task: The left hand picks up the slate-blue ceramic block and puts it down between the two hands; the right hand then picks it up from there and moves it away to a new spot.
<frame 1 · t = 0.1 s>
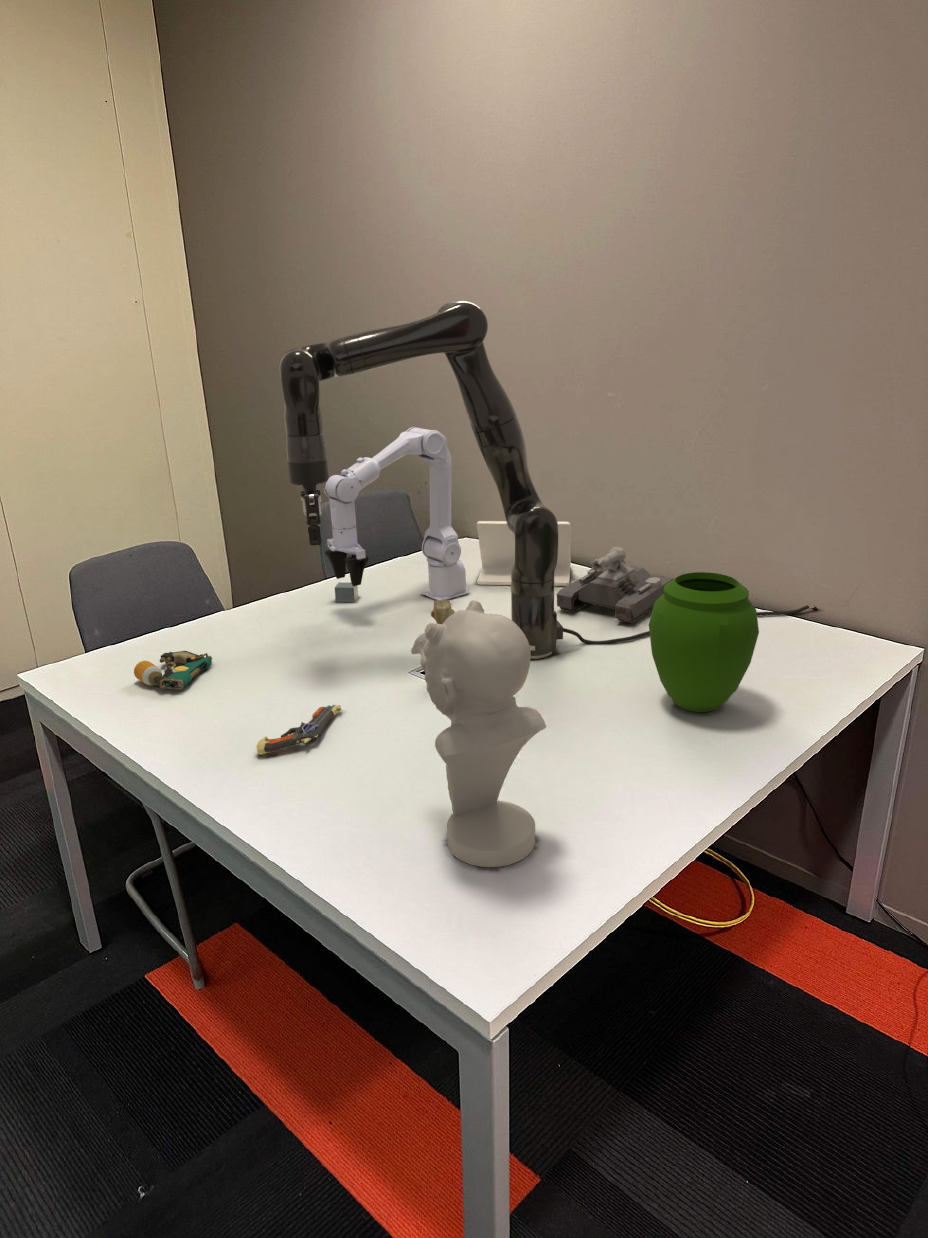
left hand: (348, 581, 206), 10 cm above the table, tool pointing down, fingers open, 7 cm apart
right hand: (314, 539, 170), 29 cm above the table, tool pointing down, fingers open, 8 cm apart
block: (347, 599, 224), on the table
toy gun: (300, 734, 155), on the table
tablet stand: (525, 575, 239), on the table
vase: (697, 704, 162), on the table
sculpture: (445, 671, 180), on the table
toy: (615, 605, 214), on the table
bust sculpture: (470, 832, 125), on the table
spray gun: (177, 676, 181), on the table
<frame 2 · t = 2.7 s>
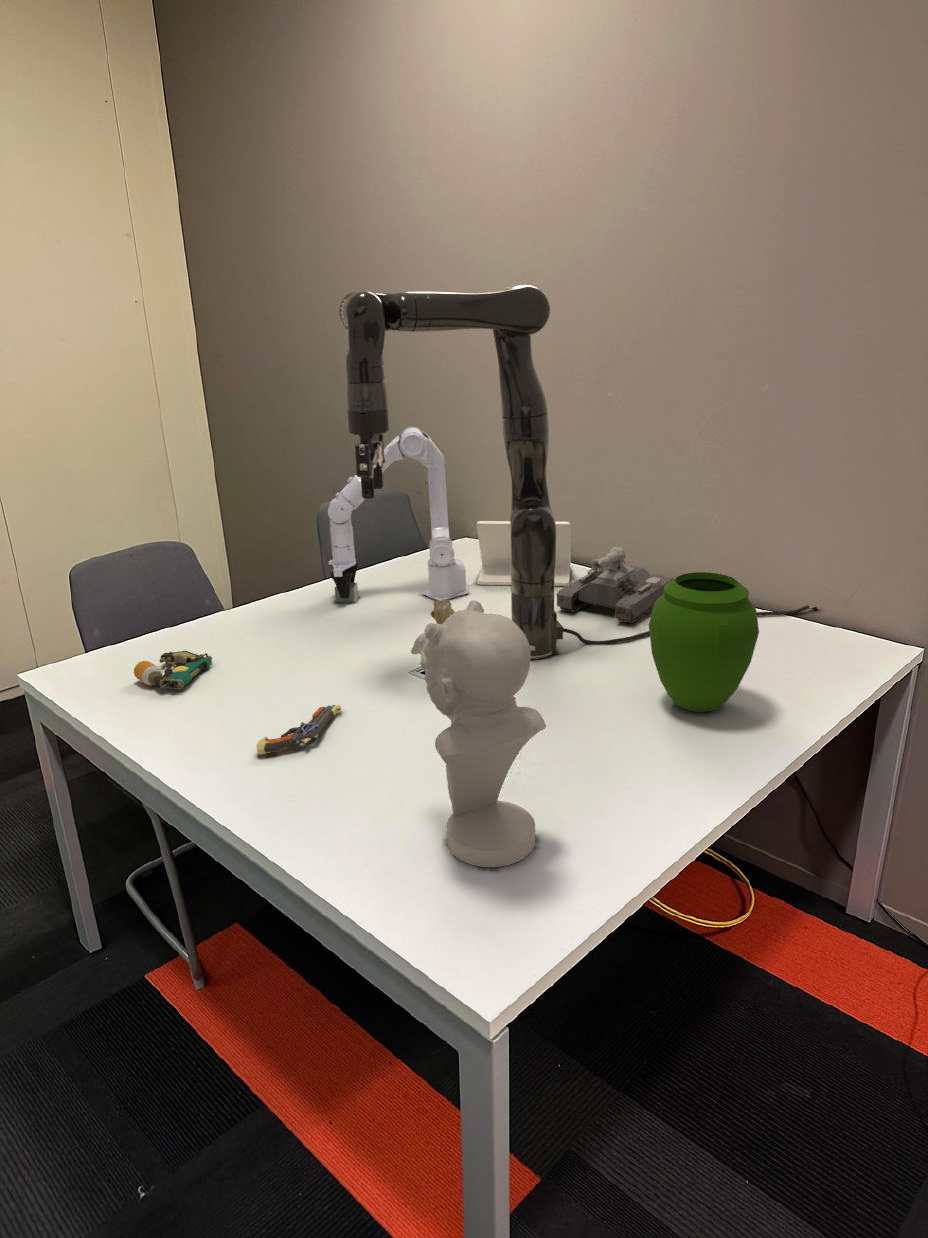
left hand: (346, 594, 223), 1 cm above the table, tool pointing down, fingers closed on block, 4 cm apart
right hand: (373, 493, 164), 39 cm above the table, tool pointing down, fingers open, 8 cm apart
block: (347, 599, 224), on the table, touching left hand
everything else where it was.
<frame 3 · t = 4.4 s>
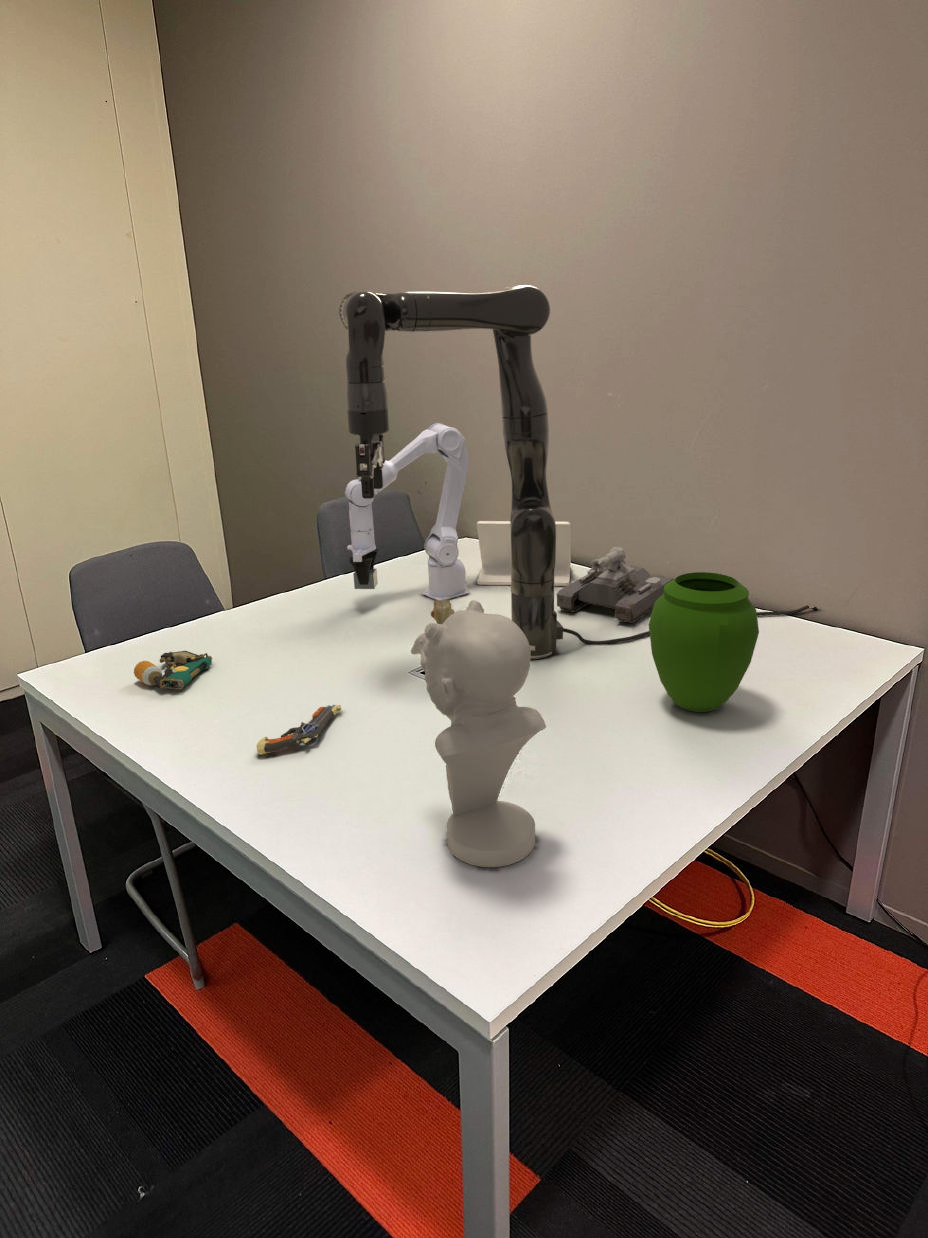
left hand: (366, 581, 216), 7 cm above the table, tool pointing down, fingers closed on block, 4 cm apart
right hand: (373, 493, 164), 39 cm above the table, tool pointing down, fingers open, 8 cm apart
block: (366, 586, 216), point 6 cm above the table, touching left hand
everything else where it was.
when the left hand's fingers open (3 cm above the table, at t = 6.0 s): block drops 1 cm, on the table.
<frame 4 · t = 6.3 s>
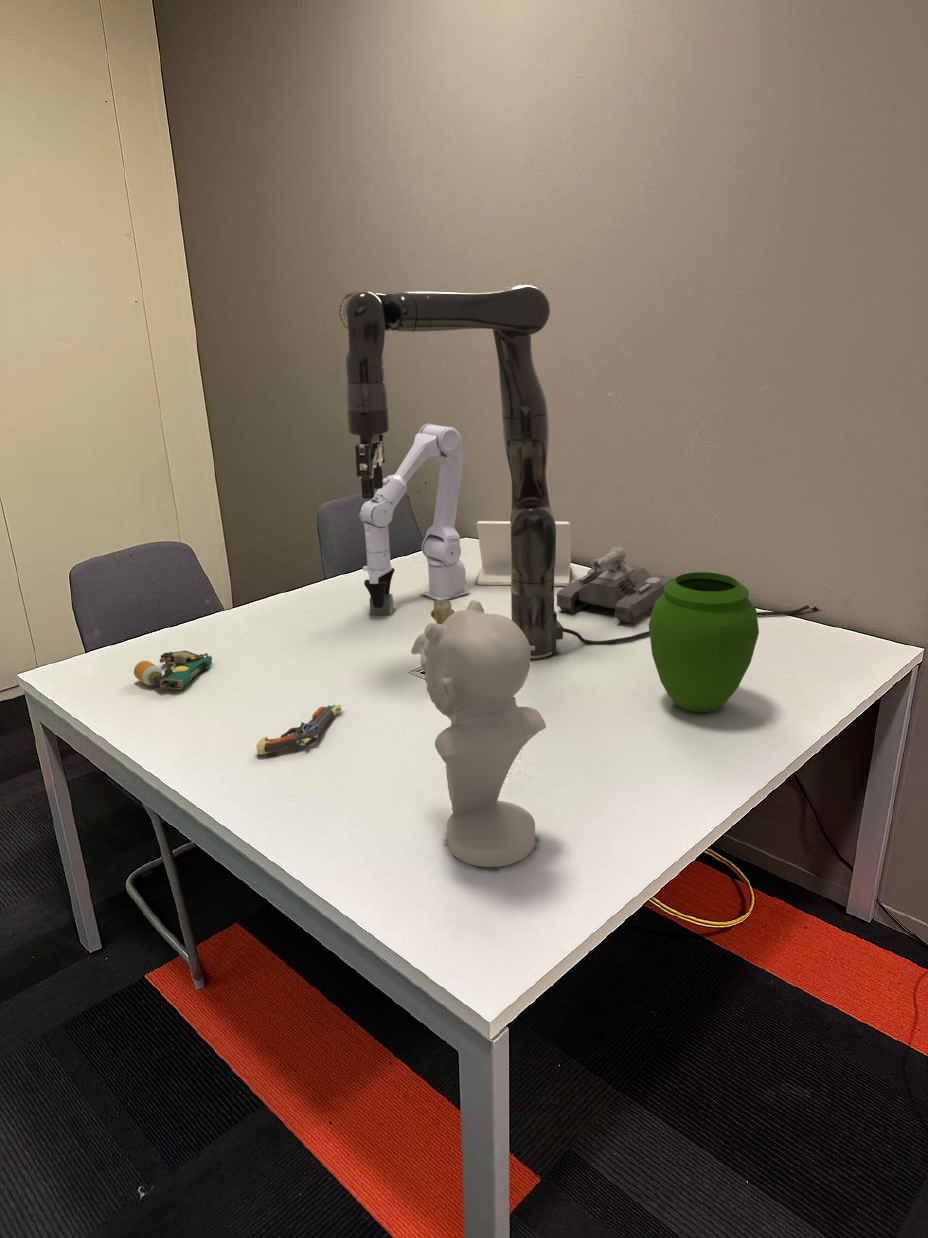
left hand: (381, 602, 214), 3 cm above the table, tool pointing down, fingers open, 7 cm apart
right hand: (373, 493, 164), 39 cm above the table, tool pointing down, fingers open, 8 cm apart
block: (382, 611, 215), on the table
everything else where it was.
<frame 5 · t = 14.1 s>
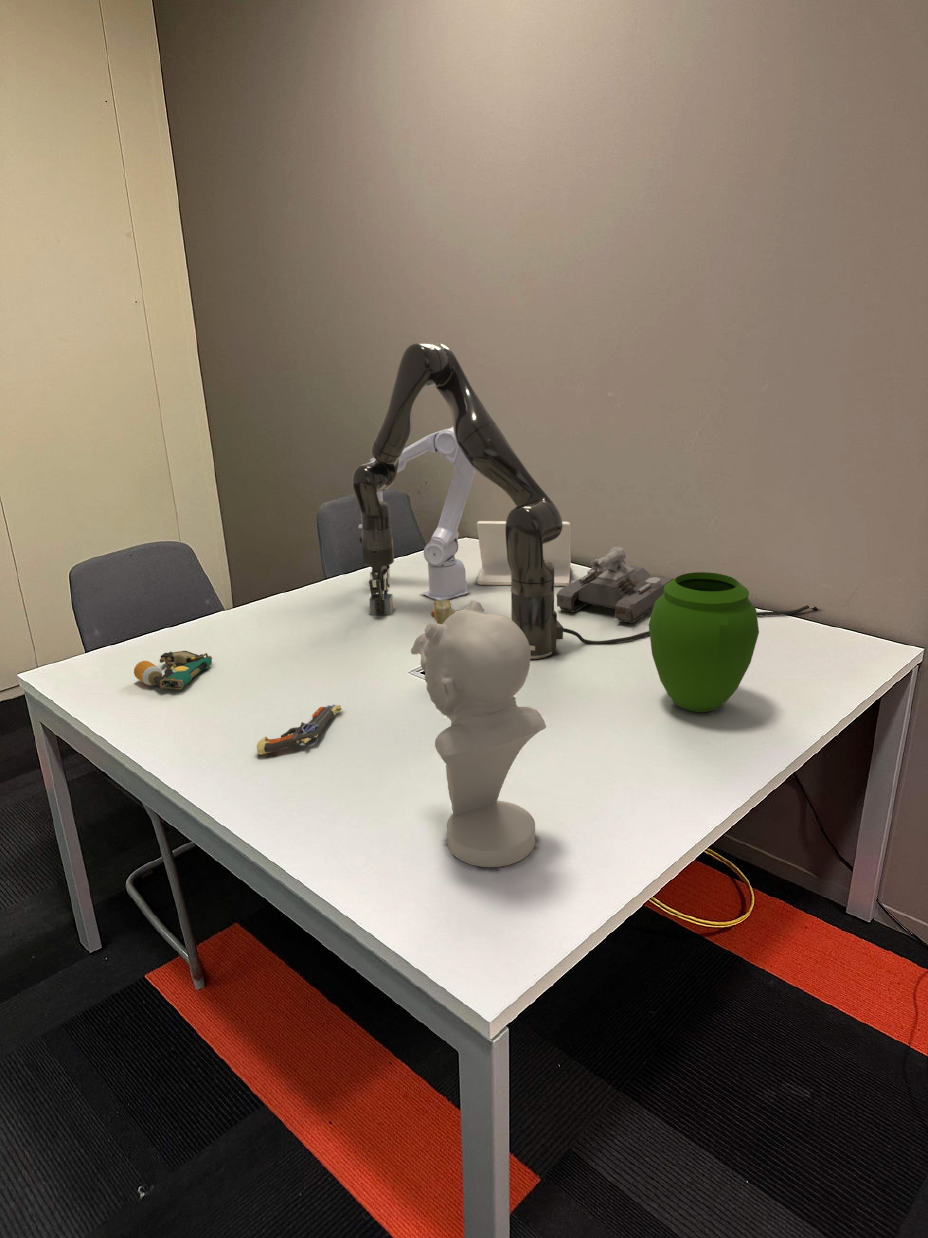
left hand: (375, 558, 229), 9 cm above the table, tool pointing down, fingers open, 7 cm apart
right hand: (381, 610, 214), 0 cm above the table, tool pointing down, fingers closed on block, 4 cm apart
block: (382, 611, 215), on the table, touching right hand
everything else where it was.
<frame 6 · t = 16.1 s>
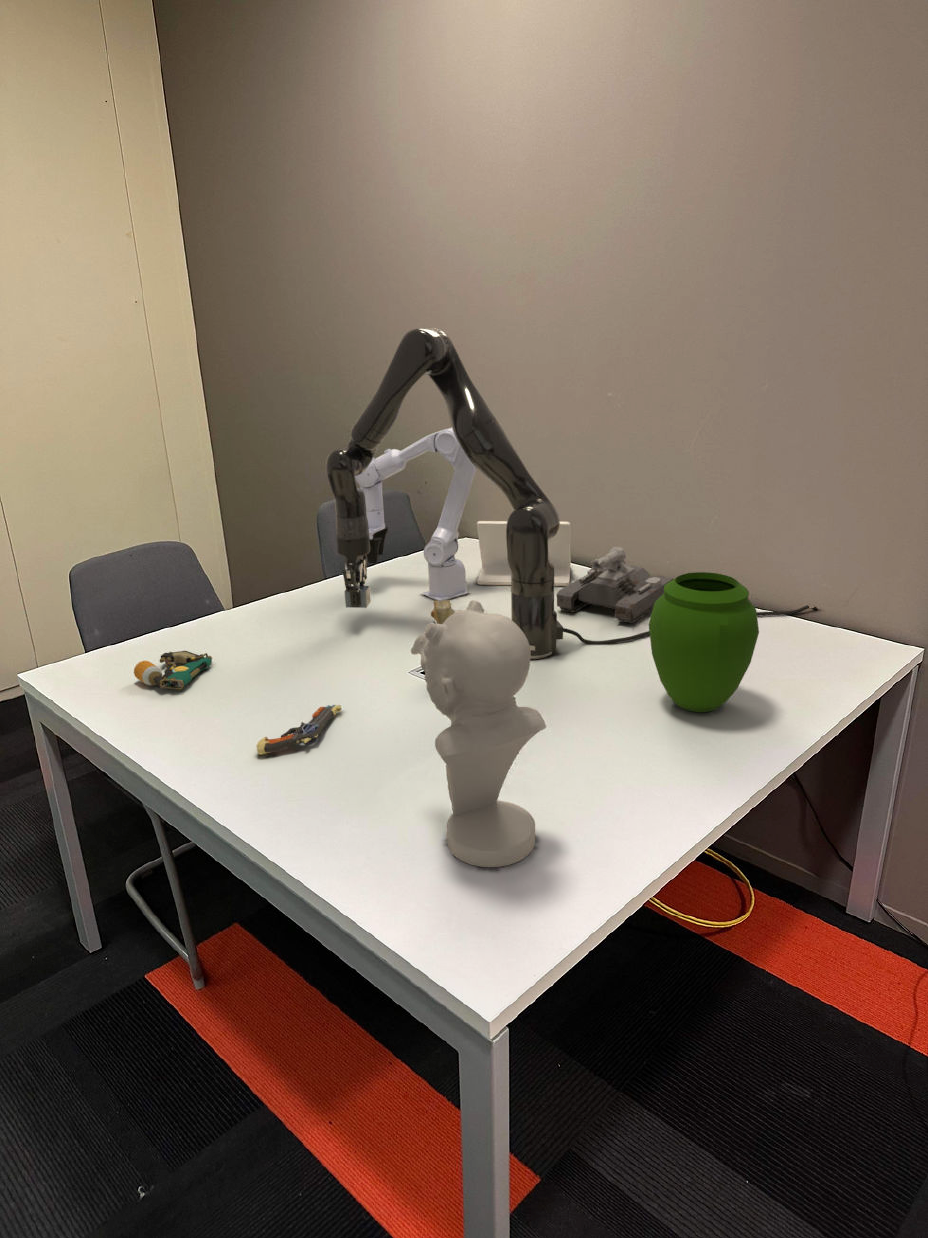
left hand: (375, 558, 229), 9 cm above the table, tool pointing down, fingers open, 7 cm apart
right hand: (358, 602, 204), 6 cm above the table, tool pointing down, fingers closed on block, 4 cm apart
block: (358, 604, 204), point 5 cm above the table, touching right hand
everything else where it was.
when the right hand's fingers open (2 cm above the table, at t = 18.4 s): block drops 1 cm, on the table.
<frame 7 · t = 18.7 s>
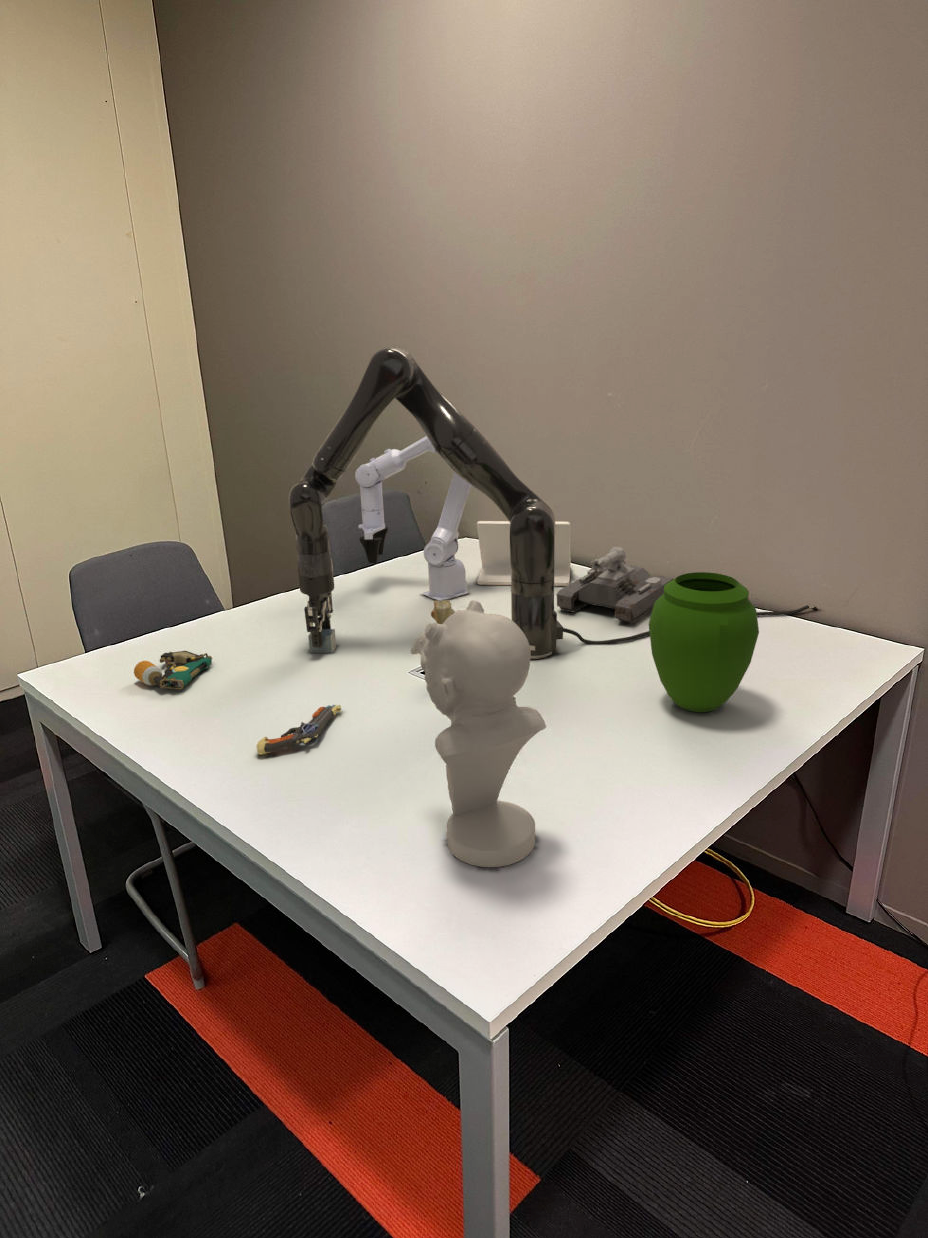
left hand: (375, 558, 229), 9 cm above the table, tool pointing down, fingers open, 7 cm apart
right hand: (322, 640, 192), 2 cm above the table, tool pointing down, fingers open, 6 cm apart
block: (323, 649, 193), on the table
everything else where it was.
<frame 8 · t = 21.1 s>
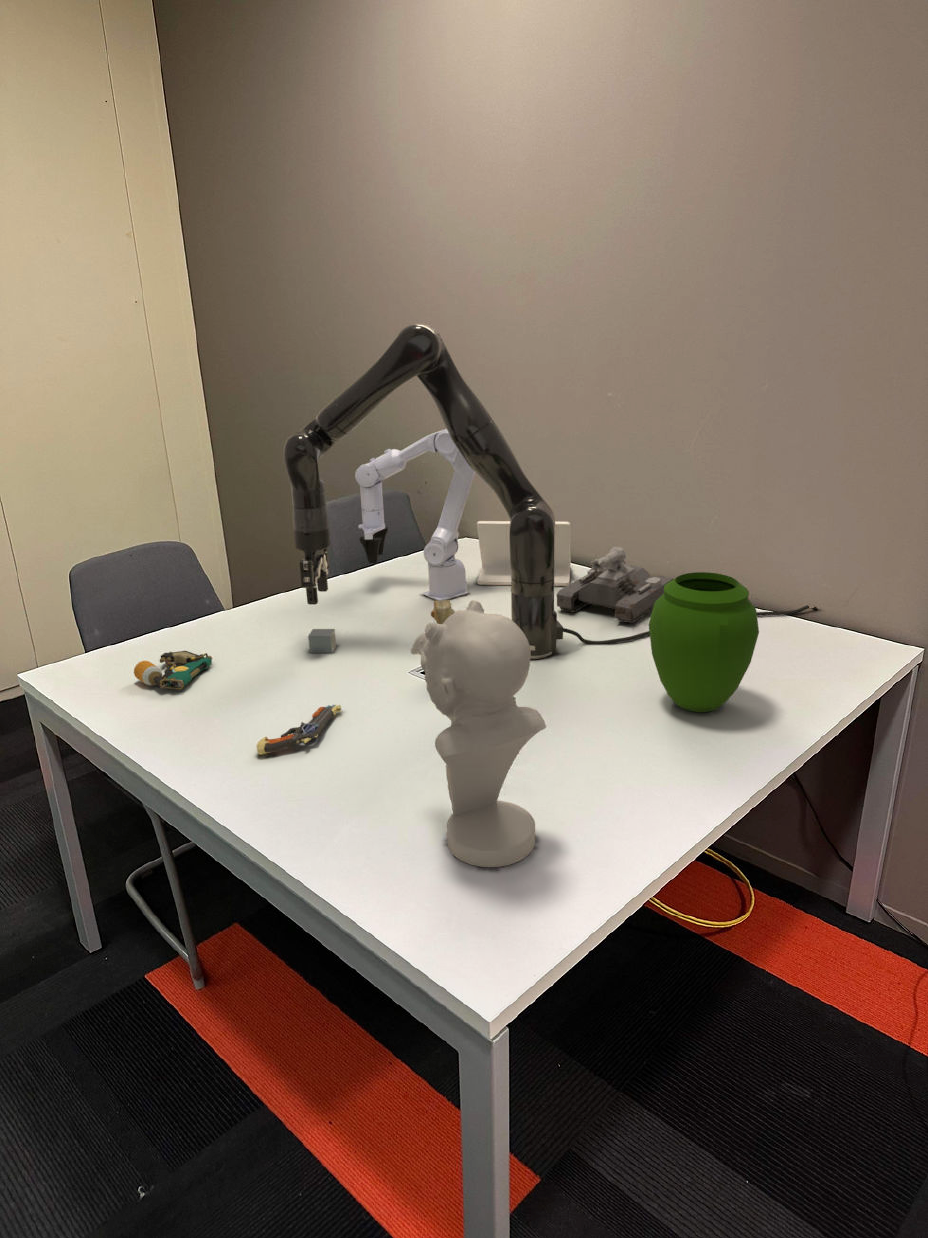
left hand: (375, 558, 229), 9 cm above the table, tool pointing down, fingers open, 7 cm apart
right hand: (318, 597, 188), 12 cm above the table, tool pointing down, fingers open, 8 cm apart
nothing on the table moved.
at the end: block inside the target area (0.1 cm from its centre), on the table; block tilted 0°; the two hands never held the block at the same time; the left hand is holding nothing; the right hand is holding nothing; block at rest at the end (0.0 cm/s) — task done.
